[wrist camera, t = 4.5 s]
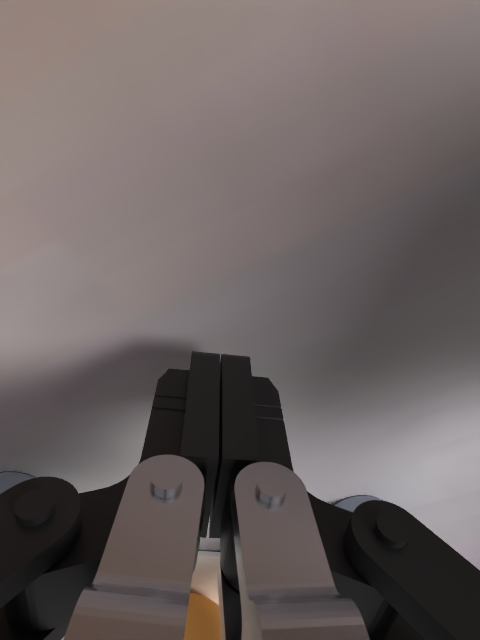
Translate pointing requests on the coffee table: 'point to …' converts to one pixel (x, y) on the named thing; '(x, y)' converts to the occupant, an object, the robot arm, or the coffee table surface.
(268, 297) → the coffee table surface
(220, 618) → the robot arm
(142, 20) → the coffee table surface
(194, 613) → the ball
